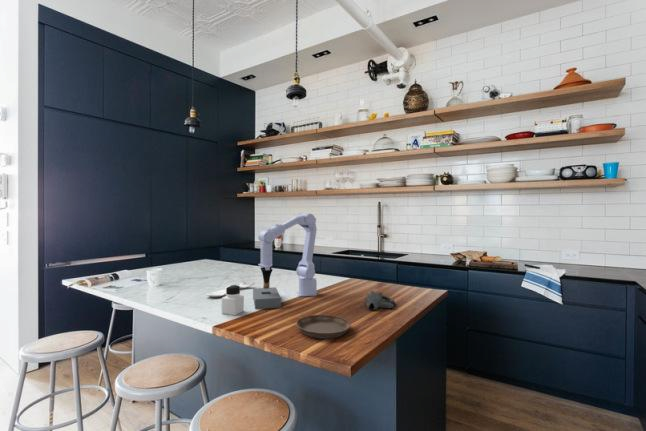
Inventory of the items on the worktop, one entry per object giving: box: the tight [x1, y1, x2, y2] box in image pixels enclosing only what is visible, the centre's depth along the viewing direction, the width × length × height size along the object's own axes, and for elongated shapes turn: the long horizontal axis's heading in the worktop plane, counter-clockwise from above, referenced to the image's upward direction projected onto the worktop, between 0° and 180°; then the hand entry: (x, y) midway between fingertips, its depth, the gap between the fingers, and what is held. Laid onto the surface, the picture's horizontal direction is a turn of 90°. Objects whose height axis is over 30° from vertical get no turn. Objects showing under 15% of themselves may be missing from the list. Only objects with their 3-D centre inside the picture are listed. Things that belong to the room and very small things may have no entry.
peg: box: [262, 280, 270, 289], centre depth 170 cm, size 3×3×9 cm
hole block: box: [252, 287, 282, 310], centre depth 170 cm, size 12×22×4 cm, turn 14°
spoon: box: [206, 280, 255, 298], centre depth 189 cm, size 9×32×4 cm, turn 153°
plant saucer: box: [296, 314, 351, 339], centre depth 131 cm, size 21×21×3 cm
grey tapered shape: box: [363, 290, 397, 311], centre depth 167 cm, size 5×25×15 cm
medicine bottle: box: [221, 284, 245, 316], centre depth 152 cm, size 7×7×12 cm
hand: (266, 282), depth 170 cm, fingers closed on peg, 3 cm apart
